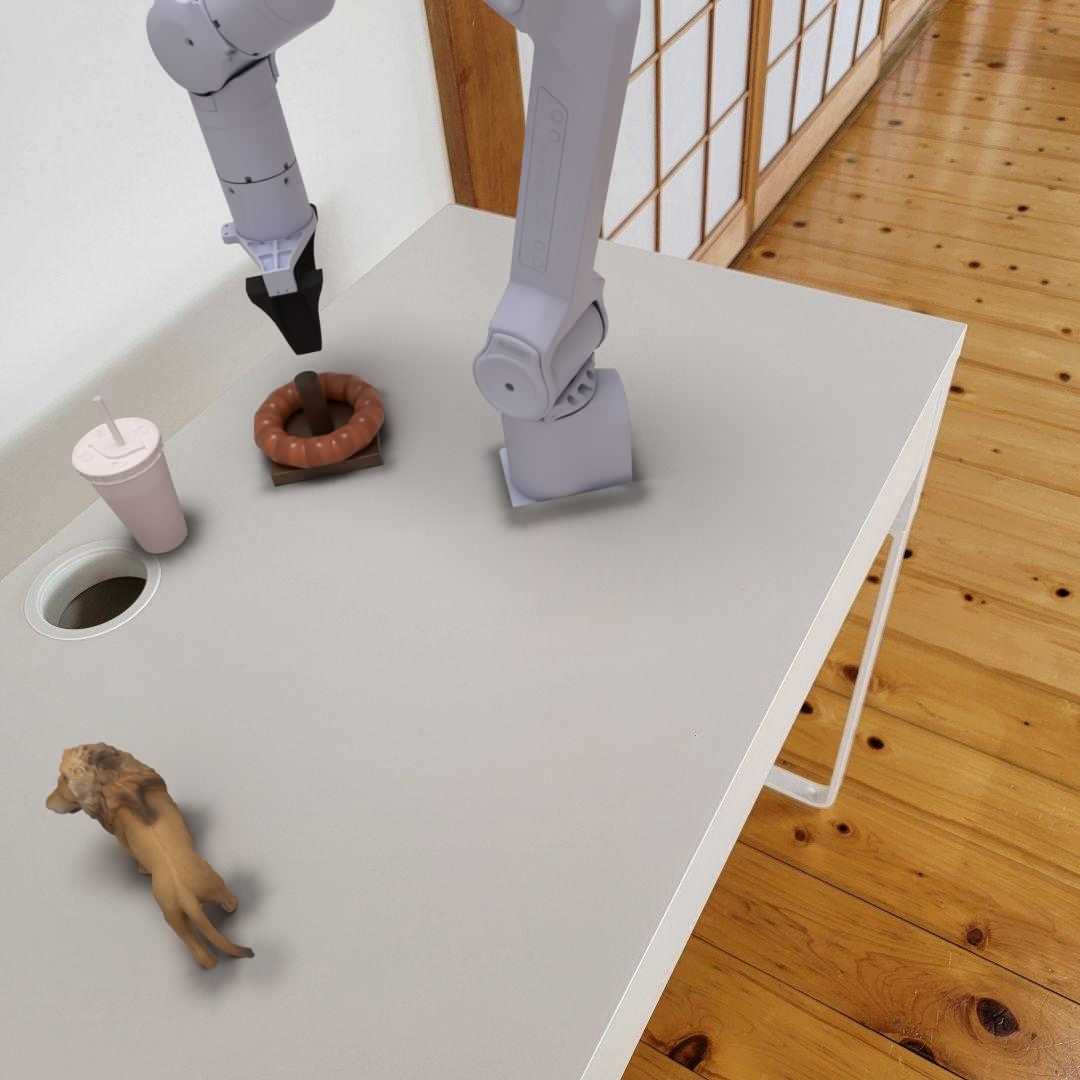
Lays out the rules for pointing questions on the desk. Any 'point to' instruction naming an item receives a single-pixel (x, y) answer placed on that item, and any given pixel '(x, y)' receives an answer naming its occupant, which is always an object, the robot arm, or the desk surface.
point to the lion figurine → (147, 838)
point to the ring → (326, 446)
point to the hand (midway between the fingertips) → (307, 323)
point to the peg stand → (321, 432)
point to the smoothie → (133, 478)
